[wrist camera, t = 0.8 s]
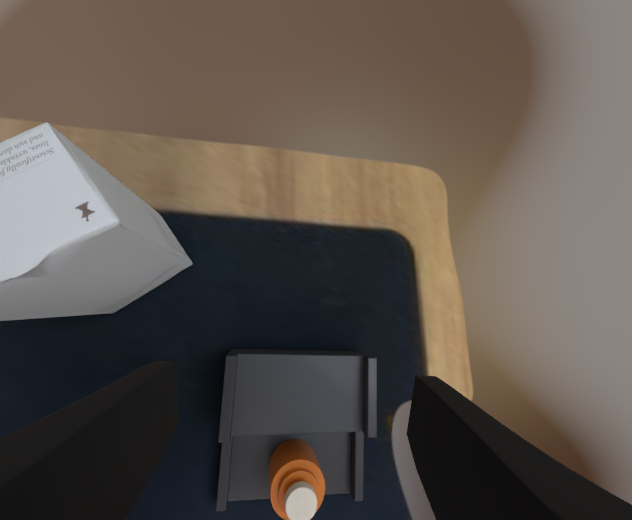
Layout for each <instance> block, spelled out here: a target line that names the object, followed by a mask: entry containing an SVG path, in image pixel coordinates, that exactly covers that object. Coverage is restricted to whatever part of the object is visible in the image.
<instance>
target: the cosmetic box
mask: <svg viewBox="0 0 632 520" xmlns="http://www.w3.org/2000/svg"><path fill="white" fill-rule="evenodd" d="M191 265H192V261H191V260H190V258H189V257H188V255H187V254H186V252H185V251H184V249H183V248H182V246H181V245H180V243H179V242H178V240H177V239H176V237H175V236H174V234H173V233H172V231H171V230H170V228H169V227H168V226H167V224H166V223H165V221H164V220H163V218H162V217H161V215H160V214H159V213H158V212H156V211H155V210H154V209H153V208H152V207H151V206H149V205H148V204H147V203H146V202H144V201H143V200H142V199H141V198H140V197H138V196H137V195H136V194H135V193H133V192H132V191H131V190H130V189H128V188H127V187H126V186H125V185H124V184H122V183H121V182H120V181H119V180H118V179H116V178H115V177H114V176H113V175H111V174H110V173H109V172H108V171H107V170H105V169H104V168H103V167H102V166H100V165H99V164H98V163H97V162H96V161H94V160H93V159H92V158H91V157H89V156H88V155H87V154H86V153H85V152H83V151H82V150H81V149H80V148H78V147H77V146H76V145H75V144H73V143H72V142H71V141H70V140H68V139H67V138H66V137H65V136H64V135H62V134H61V133H60V132H59V131H57V130H56V129H55V128H53V127H52V126H51V125H50V124H48V123H43V124H41V125H38V126H36V127H34V128H32V129H29V130H27V131H25V132H23V133H21V134H18V135H16V136H14V137H12V138H10V139H7V140H5V141H3V142H1V143H0V321H7V320H21V319H35V318H50V317H64V316H78V315H92V314H107V313H114V312H116V311H118V310H120V309H121V308H123V307H125V306H126V305H128V304H129V303H131V302H133V301H134V300H136V299H138V298H139V297H141V296H143V295H144V294H146V293H148V292H149V291H151V290H152V289H154V288H156V287H157V286H159V285H161V284H162V283H164V282H165V281H167V280H168V279H170V278H171V277H173V276H174V275H176V274H177V273H179V272H180V271H182V270H184V269H186V268H187V267H189V266H191Z"/></svg>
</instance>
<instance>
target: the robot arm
mask: <svg viewBox="0 0 632 520" xmlns="http://www.w3.org/2000/svg"><path fill="white" fill-rule="evenodd" d="M178 422H179V414H178V382H177V362H171V361H155V362H152V363H150V364H148V365H145V366H143V367H141V368H139V369H137V370H135V371H133V372H132V373H130V374H128V375H126V376H124V377H122V378H120V379H118V380H116V381H114V382H112V383H111V384H109V385H107V386H105V387H103V388H101V389H99V390H97V391H95V392H93V393H91V394H90V395H88V396H86V397H84V398H82V399H80V400H78V401H76V402H74V403H72V404H70V405H68V406H66V407H64V408H62V409H59V410H57V411H55V412H53V413H51V414H49V415H47V416H45V417H43V418H41V419H39V420H37V421H35V422H33V423H31V424H29V425H27V426H24V427H22V428H20V429H18V430H16V431H13V432H11V433H9V434H7V435H4V436H2V437H0V520H126V518H127V516H128V515H129V513H130V511H131V510H132V508H133V506H134V505H135V503H136V501H137V500H138V498H139V496H140V495H141V493H142V491H143V490H144V488H145V486H146V485H147V483H148V481H149V480H150V478H151V476H152V475H153V473H154V471H155V469H156V468H157V466H158V464H159V463H160V461H161V459H162V457H163V455H164V453H165V451H166V449H167V447H168V445H169V442H170V440H171V438H172V436H173V433H174V431H175V429H176V427H177V424H178ZM407 436H408V440H409V444H410V447H411V451H412V454H413V458H414V462H415V465H416V469H417V472H418V474H419V476H420V479H421V482H422V484H423V487H424V490H425V492H426V495H427V497H428V500H429V502H430V505H431V508H432V510H433V512H434V515H435V518H436V520H632V505H631V504H629V503H627V502H625V501H624V500H622V499H620V498H618V497H616V496H615V495H613V494H611V493H609V492H608V491H606V490H604V489H603V488H601V487H599V486H598V485H596V484H594V483H593V482H591V481H589V480H587V479H586V478H584V477H582V476H581V475H579V474H577V473H576V472H574V471H572V470H571V469H569V468H567V467H566V466H564V465H563V464H561V463H559V462H558V461H556V460H555V459H553V458H551V457H550V456H548V455H547V454H545V453H544V452H542V451H541V450H539V449H538V448H536V447H535V446H533V445H532V444H530V443H529V442H527V441H526V440H524V439H523V438H521V437H520V436H518V435H517V434H516V433H514V432H513V431H511V430H510V429H508V428H507V427H506V426H504V425H502V424H501V423H500V422H499V421H497V420H496V419H494V418H493V417H492V416H490V415H489V414H487V413H486V412H485V411H483V410H482V409H481V408H479V407H478V406H477V405H475V404H474V403H472V402H471V401H470V400H468V399H467V398H466V397H464V396H463V395H462V394H460V393H459V392H458V391H456V390H455V389H453V388H452V387H451V386H449V385H448V384H446V383H445V382H443V381H442V380H440V379H439V378H437V377H436V376H418V375H416V377H415V383H414V390H413V396H412V403H411V410H410V416H409V422H408V430H407Z"/></svg>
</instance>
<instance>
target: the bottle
mask: <svg viewBox="0 0 632 520" xmlns="http://www.w3.org/2000/svg"><path fill="white" fill-rule="evenodd" d="M269 481H270V498H271V503H272V506H273V508H274V510H275V511H276V513H277V514H278V515H279V516H280V517H282V518H283V519H285V520H310V519H311V518H312V517H313V516H314V514H315V512H316V511H317V510H318V508H319V507H320V505H321V503H322V501H323V498H324V495H325V480H324V476H323V474H322V471H321V468H320V466H319V463H318V461H317V458H316V456H315V453H314V451H313V449H312V448H311V446H310V445H309V444H308V443H306V442H305V441H303V440H300V439H290V440H287V441H285V442H283V443H281V444H280V445H279V446H278V447H277V448H276V449H275V450H274V452H273V454H272V456H271V458H270V462H269Z"/></svg>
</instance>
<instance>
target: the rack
mask: <svg viewBox="0 0 632 520" xmlns="http://www.w3.org/2000/svg"><path fill="white" fill-rule="evenodd" d="M364 434H365V435H366V436H367V437H368V438H374V437H377V358H375V357H373V356H370V355H367V354H365V353H362V352H360V351H338V350H287V349H235V348H233V349H232V350H231V351H230V352H229V353H228V354H227V356H226V362H225V373H224V384H223V395H222V405H221V416H220V427H219V438H218V442H219V443H222V446H221V458H220V469H219V480H218V491H217V502H216V511H226V509H227V503H228V501H241V500H256V499H270V481H269V462H270V458H271V456H272V454H273V452H274V450H275V449H276V448H277V447H278V446H279V445H280V444H281V443H283V442H285V441H287V440H290V439H300V440H303V441H305V442H306V443H308V444H309V445H310V446H311V448H312V449H313V451H314V453H315V456H316V458H317V461H318V463H319V466H320V468H321V471H322V474H323V476H324V480H325V495H330V494H345V493H351V495H352V497H353V499H354V501H363V477H364Z"/></svg>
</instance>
